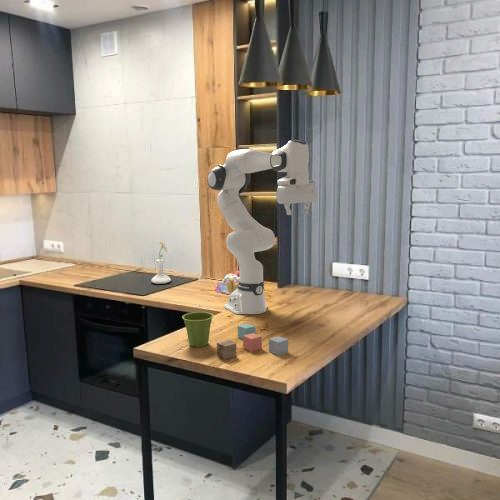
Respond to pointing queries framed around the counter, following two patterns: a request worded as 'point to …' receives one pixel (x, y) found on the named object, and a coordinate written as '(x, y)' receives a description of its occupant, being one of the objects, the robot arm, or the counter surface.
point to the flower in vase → (161, 270)
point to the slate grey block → (278, 345)
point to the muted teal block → (245, 330)
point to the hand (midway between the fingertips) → (297, 214)
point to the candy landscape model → (228, 283)
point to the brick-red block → (252, 342)
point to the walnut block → (226, 349)
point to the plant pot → (198, 327)
